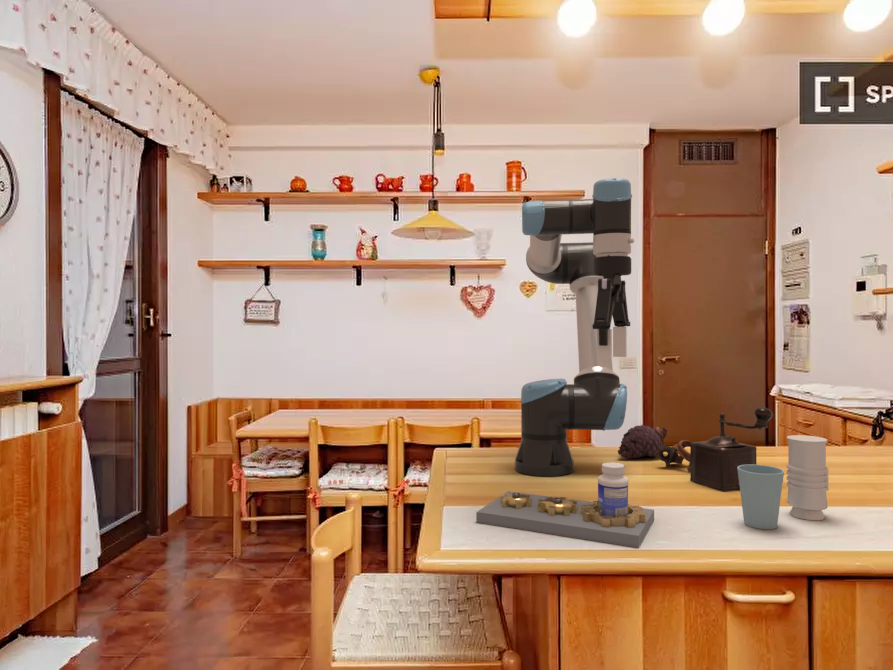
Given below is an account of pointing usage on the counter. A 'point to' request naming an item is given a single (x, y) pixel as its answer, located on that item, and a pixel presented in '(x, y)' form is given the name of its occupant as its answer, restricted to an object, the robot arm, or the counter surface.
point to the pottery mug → (675, 453)
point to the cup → (760, 494)
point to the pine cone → (642, 442)
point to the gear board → (562, 522)
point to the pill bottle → (613, 490)
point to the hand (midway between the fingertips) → (612, 359)
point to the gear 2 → (628, 520)
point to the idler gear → (516, 500)
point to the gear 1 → (557, 506)
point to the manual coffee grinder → (724, 455)
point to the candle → (807, 476)
